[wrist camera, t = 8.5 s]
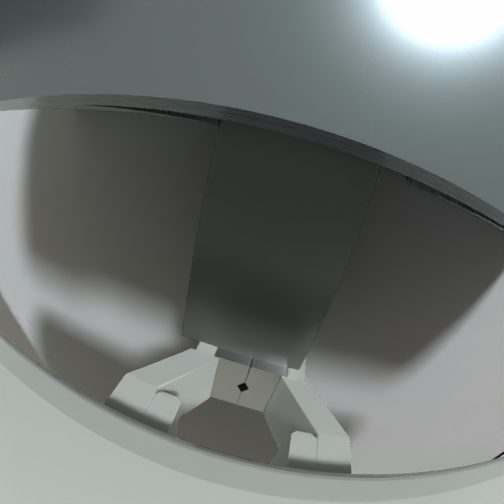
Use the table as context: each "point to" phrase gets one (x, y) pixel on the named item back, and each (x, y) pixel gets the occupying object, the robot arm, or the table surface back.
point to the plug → (273, 241)
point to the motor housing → (286, 75)
